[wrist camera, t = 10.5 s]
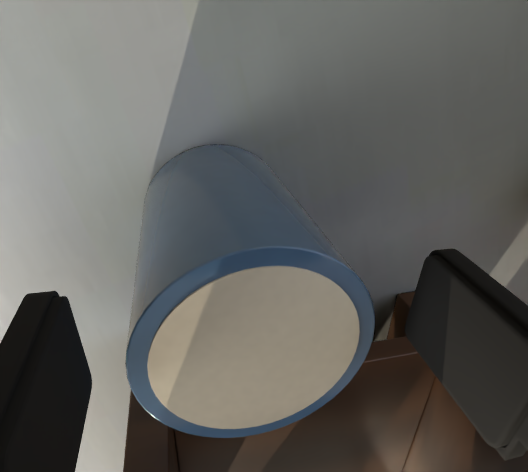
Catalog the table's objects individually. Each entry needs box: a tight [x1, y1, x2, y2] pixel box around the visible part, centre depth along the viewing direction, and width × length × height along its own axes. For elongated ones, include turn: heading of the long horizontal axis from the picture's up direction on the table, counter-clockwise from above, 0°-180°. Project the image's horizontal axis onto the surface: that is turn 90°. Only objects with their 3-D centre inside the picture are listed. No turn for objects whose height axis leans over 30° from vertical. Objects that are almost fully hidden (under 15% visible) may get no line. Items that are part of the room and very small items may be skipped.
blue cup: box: [125, 144, 375, 438], centre depth 13 cm, size 7×7×9 cm
